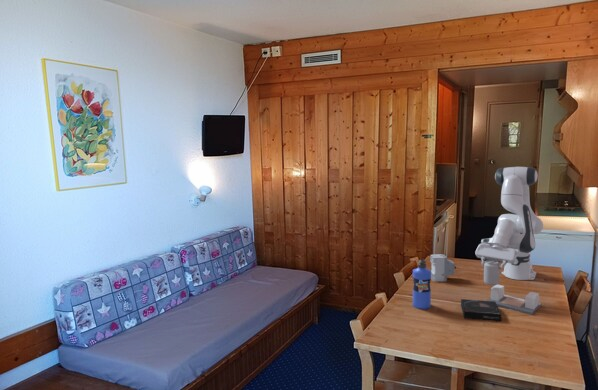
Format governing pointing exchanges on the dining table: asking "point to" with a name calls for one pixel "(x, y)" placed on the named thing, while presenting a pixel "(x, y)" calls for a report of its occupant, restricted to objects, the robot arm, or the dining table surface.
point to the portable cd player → (480, 310)
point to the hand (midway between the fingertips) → (491, 266)
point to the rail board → (515, 300)
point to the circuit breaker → (441, 267)
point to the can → (491, 272)
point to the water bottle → (421, 286)
